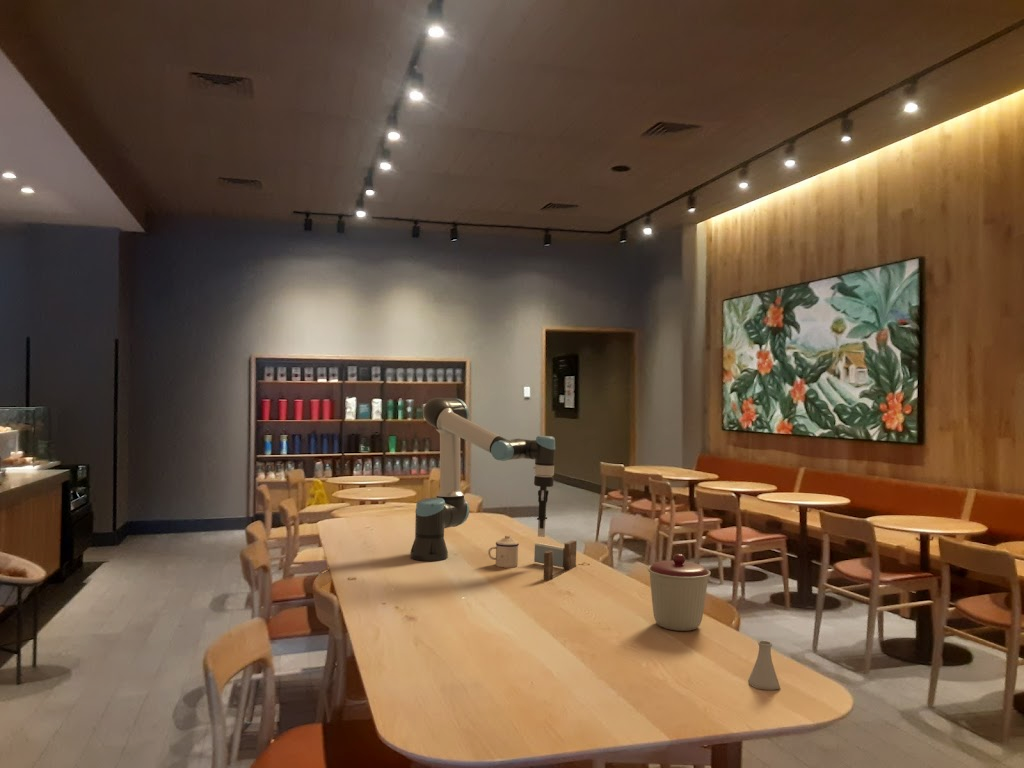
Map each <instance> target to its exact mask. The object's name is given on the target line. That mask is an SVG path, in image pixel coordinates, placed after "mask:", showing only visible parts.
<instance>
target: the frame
mask: <svg viewBox="0 0 1024 768" xmlns="http://www.w3.org/2000/svg"><path fill="white" fill-rule="evenodd" d="M576 567H577V540H569V541H567V542H564V568H563V569H562V570H559V571H558V572H555V573H553V571H554V566H553V551H547V552H544V564H543V577H542V578H543V581H551V580H553V579H555V578H557V577H559V576H561V575H563V574H565V573H566V572H569V571H570V570H572V569H573V568H576ZM564 572H565V573H564ZM562 573H563V574H562Z"/></svg>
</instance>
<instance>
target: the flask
mask: <svg viewBox="0 0 1024 768" xmlns="http://www.w3.org/2000/svg"><path fill="white" fill-rule="evenodd" d="M757 644H758V645H757V646H758V652H757V657H756V659H755V663H754V665H753V668H752V670H751V673H750V674H749V677H748V679H747V681H748V685H750V686H752V687H754V688H755V689H758V690H766V691H773V690H778V689H779V690H780V689H781V686H780V683H779V680H778V677H777V673H776V670H775V667H774V663H773V658H772V652H771V651H772V647H773V643H772V642H771V641H769V640H764V639H763V640H758V641H757Z"/></svg>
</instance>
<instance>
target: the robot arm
mask: <svg viewBox="0 0 1024 768" xmlns="http://www.w3.org/2000/svg"><path fill="white" fill-rule="evenodd" d="M422 411H423V413H422V414H423V418H424V420H425V422H427V424H429V425H430V426H432V427H434V428H435V430H436V431H437V433H439V456H440V457H439V485H440V486H439V492H438V493H436V497H426V498H423V499H419V500H418V501H417V502H416V507H415V511H414V512H415V523H414V524H415V526H414V528H415V530H414V532H415V534H414V540H413V544H412V546H411V549H410V552H409V557H410V559H412V560H416V561H423V562H434V561H435V562H437V561H442V560H443V561H444V560H447V559H448V556H449V554H448V553H449V552H448V547H447V544H446V541H445V529H448V528H454V527H458V526H460V525H463V524H464V523H465V522H466V521H467V519H468V518H469V516H470V506H469V503H468V502H467V500H466V499H465V494H464V493H463V491H461V490H462V489H461V439H463V440H465V441H467V442H469V443H470V444H472V445H474V446H476V447H479V448H480V449H482V450H484V451H486V452H488V453H490V454H491V456H492V457H493V458H494V459H495V460H496V461H501V462H505V461H506V462H507V461H512V460H520V459H524V460H525V459H526V460H534V466H533V470H534V474H535V476H534V480H533V485H534V486H536V487H539V489H538V490H537V496H538V497H537V499H538V500H537V501H538V517H536V520H537V521H538V522H537V537H539V538H540V537H541V538H545V537H546V520H548V517H547V503H548V500H549V499H548V496H549V490H547V489H548V488H550V487H551V488H552V487H553V486H554V480H555V479H554V475H555V456H556V455H555V454H556V453H555V452H556V439H555V437H554V436H551V435H537V436H536V438H535V440H534V439H533V440H532V439H524V438H512V439H506V438H505V437H503V436H500V435H499V434H497V433H495V432H492V431H491V430H489V429H486V428H485V427H482V426H481V425H479V424H477V423H475V422H474V421H470V420H469V416H470V410H469V407H468V405H467V404H466V403H465V401H463V400H462V399H460V398H455V397H433V398H431V399H429V400H428V401H427V402H426V403H425V404H424V407H423V409H422Z"/></svg>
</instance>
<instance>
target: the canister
mask: <svg viewBox="0 0 1024 768" xmlns="http://www.w3.org/2000/svg"><path fill="white" fill-rule="evenodd" d="M647 571H648V572H649V580H650V593H651V594H650V595H651V604H652V613H653V618H654V621H655V623H656V624H657V625H658V626H659V627H661V628H663V629H667V630H671V631H679V632H681V631H682V632H687V631H689V632H690V631H692V630H696V629H698V628H699V627H700V626H701V624H702V621H703V617H704V616H703V615H704V609H705V604H706V596H707V589H708V580H709V577H710V576H711V571H710V570H709V569H707V568H706V567H705V566H704V565H701V564H699V563H694V562H691V561H686V557H685V555H684V554H682V553H675V554H674V555H673V557H672V560H660V561H657V562H653V563H652V564H651V565H649V566H648V567H647Z"/></svg>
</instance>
